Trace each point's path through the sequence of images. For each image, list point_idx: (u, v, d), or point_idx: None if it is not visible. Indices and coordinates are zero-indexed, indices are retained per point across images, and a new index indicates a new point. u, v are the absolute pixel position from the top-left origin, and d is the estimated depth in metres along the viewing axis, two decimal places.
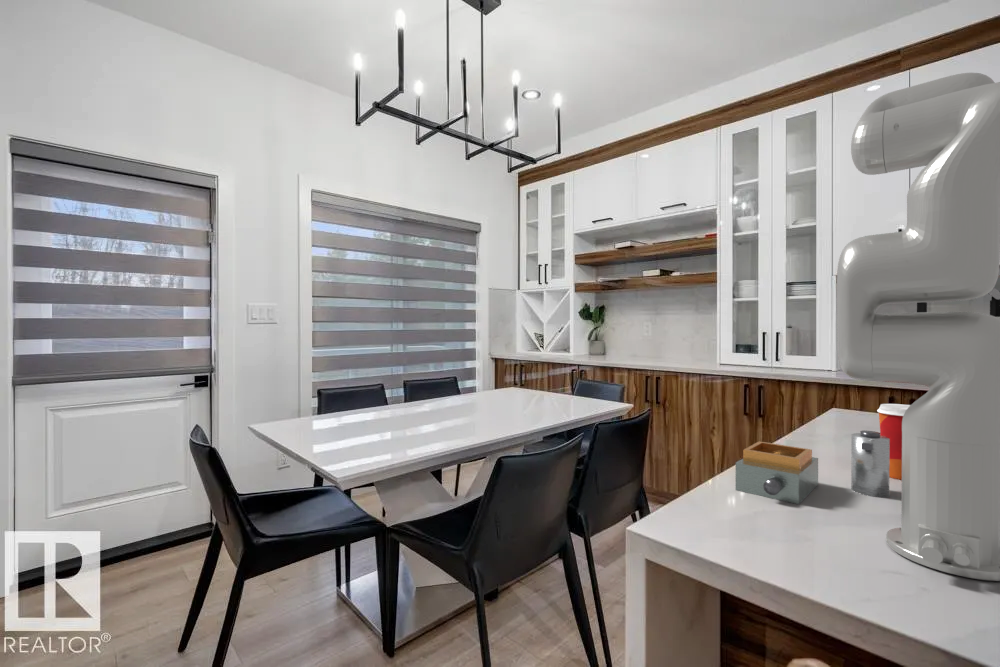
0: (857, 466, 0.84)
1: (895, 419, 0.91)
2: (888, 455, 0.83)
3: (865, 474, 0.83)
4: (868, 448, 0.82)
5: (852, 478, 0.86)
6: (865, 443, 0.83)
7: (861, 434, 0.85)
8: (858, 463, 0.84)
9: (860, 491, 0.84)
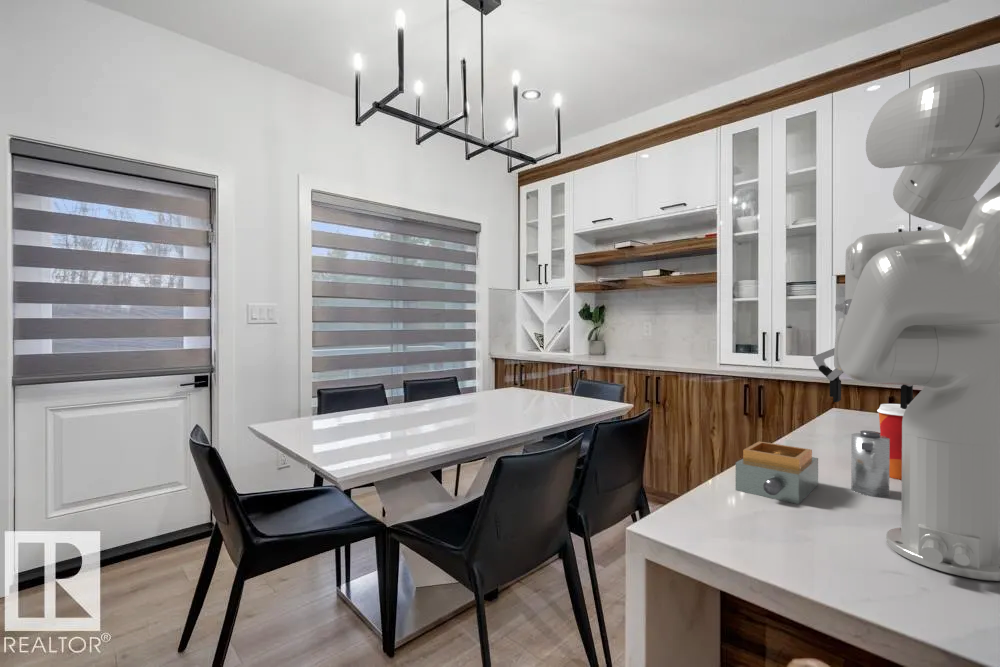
0: (857, 466, 0.84)
1: (895, 419, 0.91)
2: (888, 455, 0.83)
3: (865, 474, 0.83)
4: (868, 448, 0.82)
5: (852, 478, 0.86)
6: (865, 443, 0.83)
7: (861, 434, 0.85)
8: (858, 463, 0.84)
9: (860, 491, 0.84)
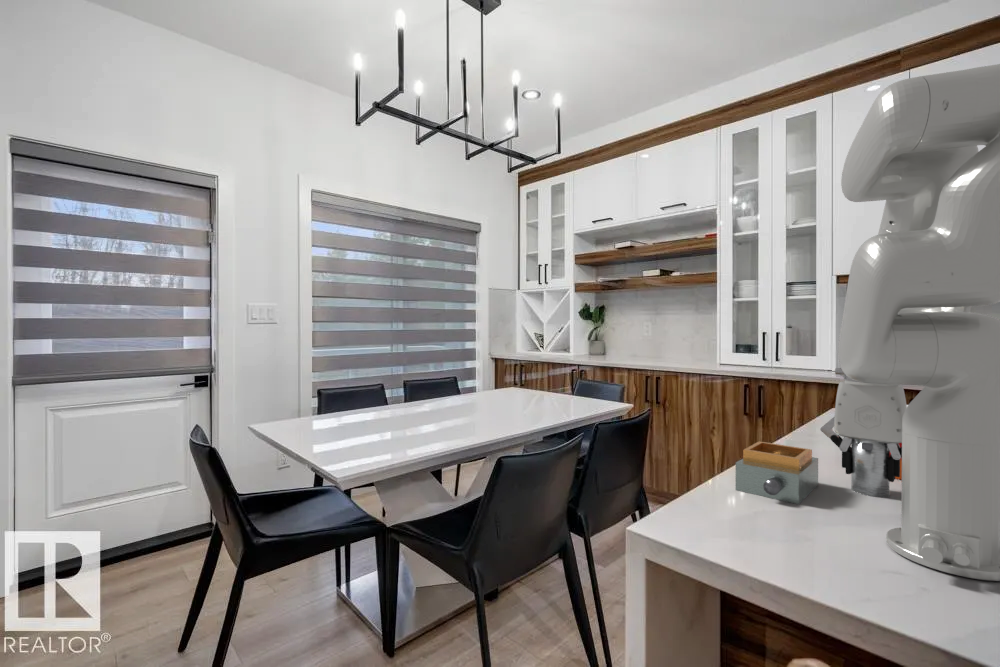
0: (857, 466, 0.84)
1: None
2: (888, 455, 0.83)
3: (865, 474, 0.83)
4: (868, 448, 0.82)
5: (852, 478, 0.86)
6: (865, 443, 0.83)
7: None
8: (858, 463, 0.84)
9: (860, 491, 0.84)
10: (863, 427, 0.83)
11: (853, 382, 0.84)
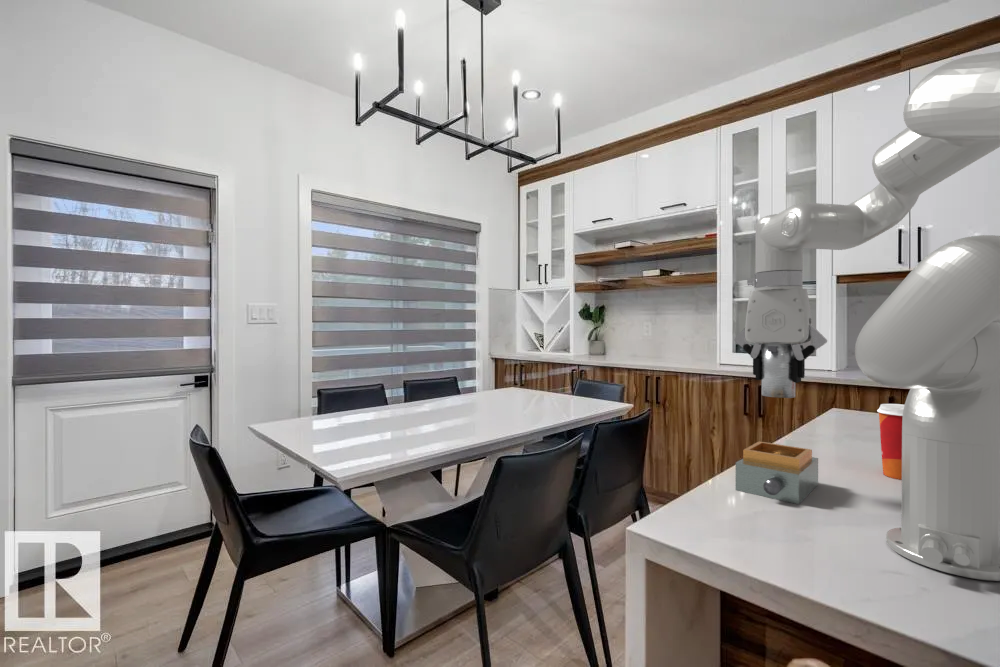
0: (765, 370, 0.87)
1: (895, 419, 0.91)
2: (793, 357, 0.85)
3: (772, 377, 0.86)
4: (773, 350, 0.84)
5: (762, 383, 0.88)
6: (771, 346, 0.85)
7: None
8: (766, 367, 0.87)
9: (767, 394, 0.86)
10: (770, 331, 0.85)
11: (760, 288, 0.86)
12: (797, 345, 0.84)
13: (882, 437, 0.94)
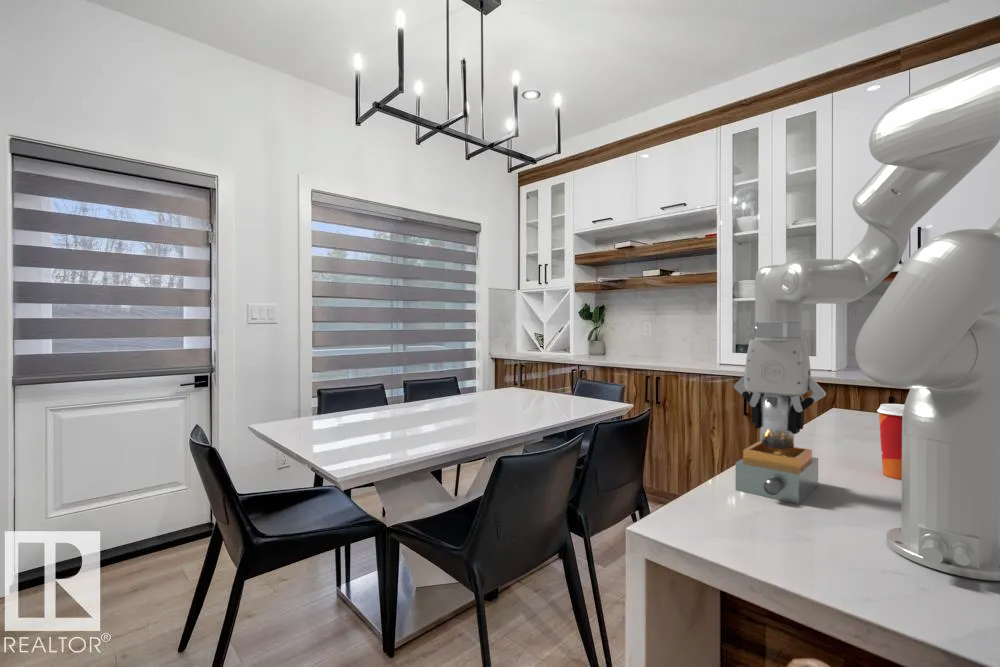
0: (764, 420, 0.87)
1: (895, 419, 0.91)
2: (792, 408, 0.85)
3: (771, 427, 0.86)
4: (772, 401, 0.84)
5: (760, 432, 0.88)
6: (770, 397, 0.85)
7: None
8: (765, 417, 0.87)
9: (766, 444, 0.87)
10: (769, 382, 0.86)
11: (760, 338, 0.86)
12: (796, 397, 0.84)
13: (882, 437, 0.94)
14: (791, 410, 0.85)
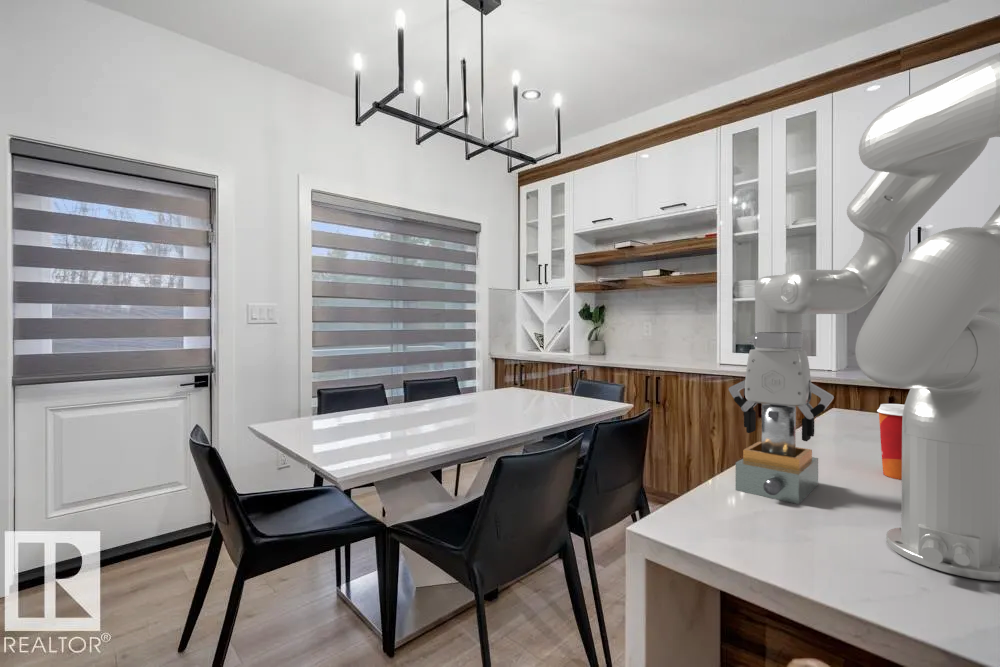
0: (765, 434, 0.87)
1: (895, 419, 0.91)
2: (793, 423, 0.85)
3: (772, 442, 0.86)
4: (773, 416, 0.84)
5: (762, 446, 0.88)
6: (771, 411, 0.85)
7: None
8: (766, 431, 0.87)
9: None
10: (769, 392, 0.86)
11: (760, 348, 0.86)
12: (803, 404, 0.83)
13: (882, 437, 0.94)
14: (792, 425, 0.85)
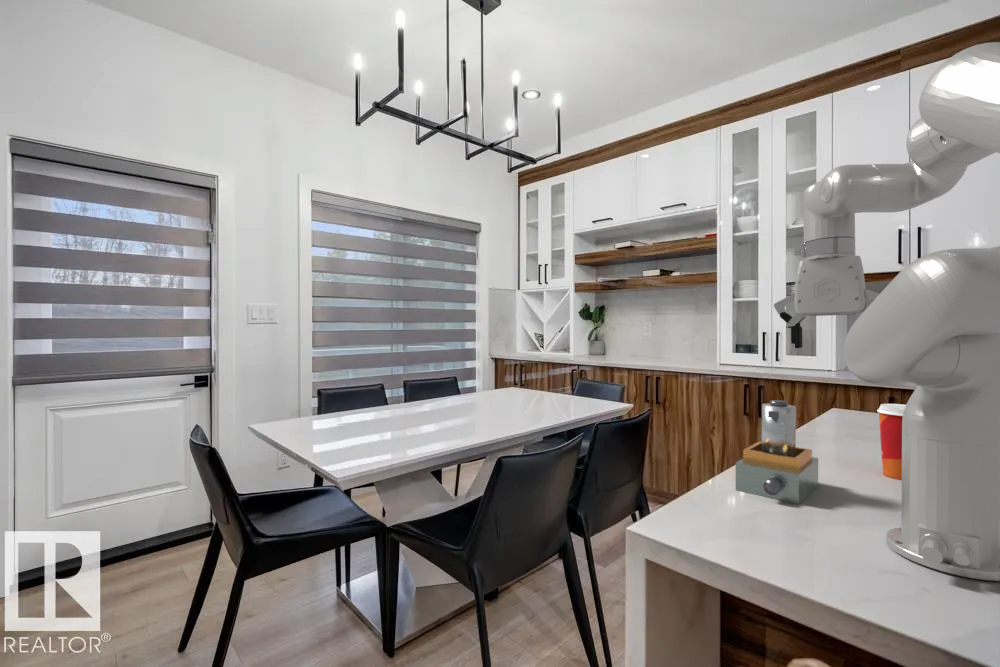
0: (765, 434, 0.87)
1: (895, 419, 0.91)
2: (793, 423, 0.85)
3: (772, 442, 0.86)
4: (773, 416, 0.84)
5: (762, 446, 0.88)
6: (771, 411, 0.85)
7: (770, 403, 0.88)
8: (766, 431, 0.87)
9: None
10: (823, 301, 0.82)
11: (812, 257, 0.83)
12: (860, 310, 0.79)
13: (882, 437, 0.94)
14: (792, 425, 0.85)
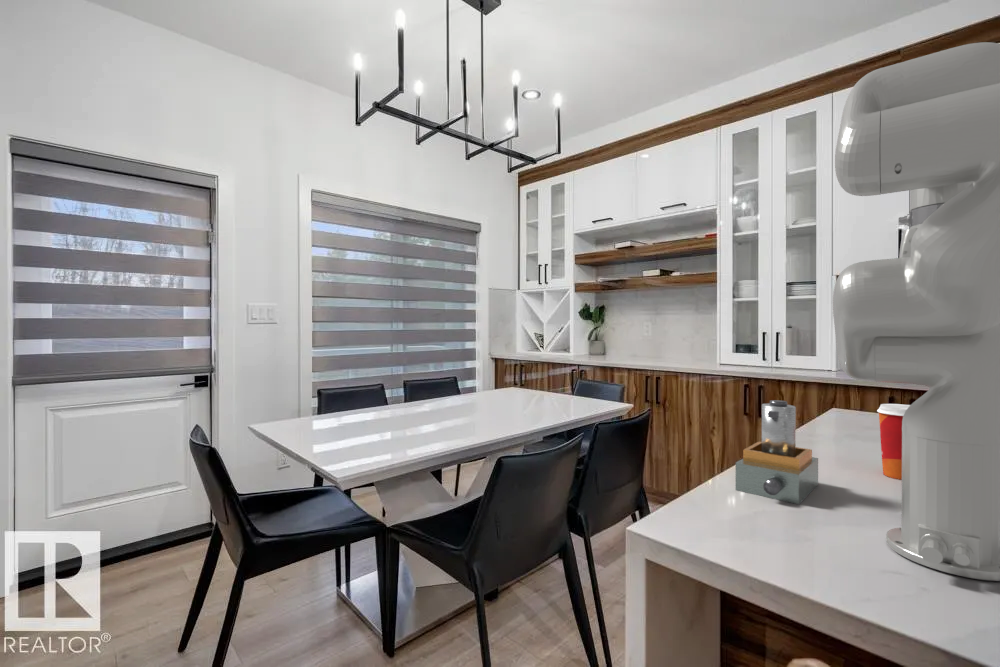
0: (765, 434, 0.87)
1: (895, 419, 0.91)
2: (793, 423, 0.85)
3: (772, 442, 0.86)
4: (773, 416, 0.84)
5: (762, 446, 0.88)
6: (771, 411, 0.85)
7: (770, 403, 0.88)
8: (766, 431, 0.87)
9: None
10: None
11: None
12: None
13: (882, 437, 0.94)
14: (792, 424, 0.85)
